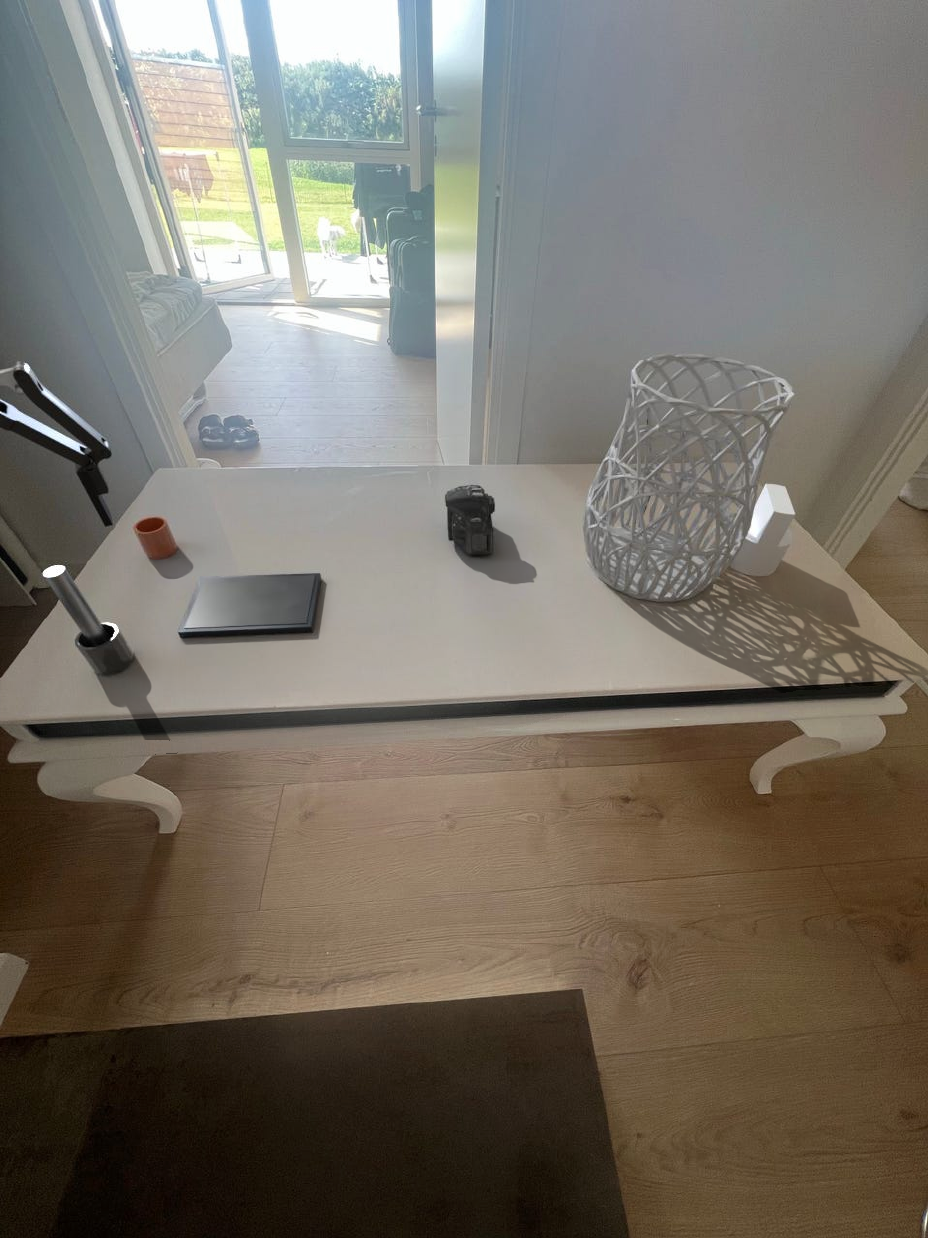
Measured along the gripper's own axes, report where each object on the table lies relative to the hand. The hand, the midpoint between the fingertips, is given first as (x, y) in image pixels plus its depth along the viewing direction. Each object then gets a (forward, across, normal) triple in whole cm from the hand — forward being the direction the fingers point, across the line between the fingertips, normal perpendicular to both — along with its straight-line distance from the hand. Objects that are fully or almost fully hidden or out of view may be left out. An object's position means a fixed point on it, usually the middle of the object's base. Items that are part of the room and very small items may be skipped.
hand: (36, 536), depth 56 cm
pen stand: (+20, 0, 0) cm, 20 cm away
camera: (+20, -56, -2) cm, 59 cm away
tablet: (+20, -19, -2) cm, 27 cm away
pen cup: (+20, -9, -23) cm, 31 cm away
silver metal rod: (+19, 0, 0) cm, 19 cm away
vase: (+20, -79, +18) cm, 83 cm away
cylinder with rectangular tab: (+20, -95, +26) cm, 100 cm away
